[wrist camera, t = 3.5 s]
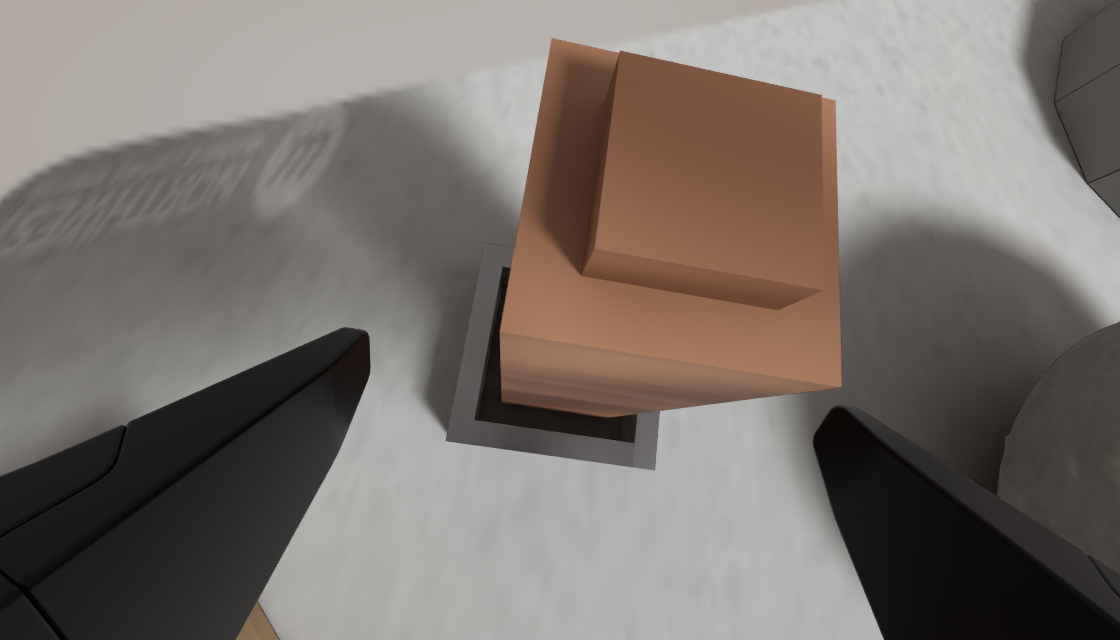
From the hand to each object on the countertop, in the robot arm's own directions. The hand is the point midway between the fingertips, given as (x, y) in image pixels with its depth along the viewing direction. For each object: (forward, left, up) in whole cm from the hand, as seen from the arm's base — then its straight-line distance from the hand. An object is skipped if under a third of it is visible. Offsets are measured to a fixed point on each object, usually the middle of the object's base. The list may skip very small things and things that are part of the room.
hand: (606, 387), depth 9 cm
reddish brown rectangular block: (+1, -1, -9) cm, 10 cm away
